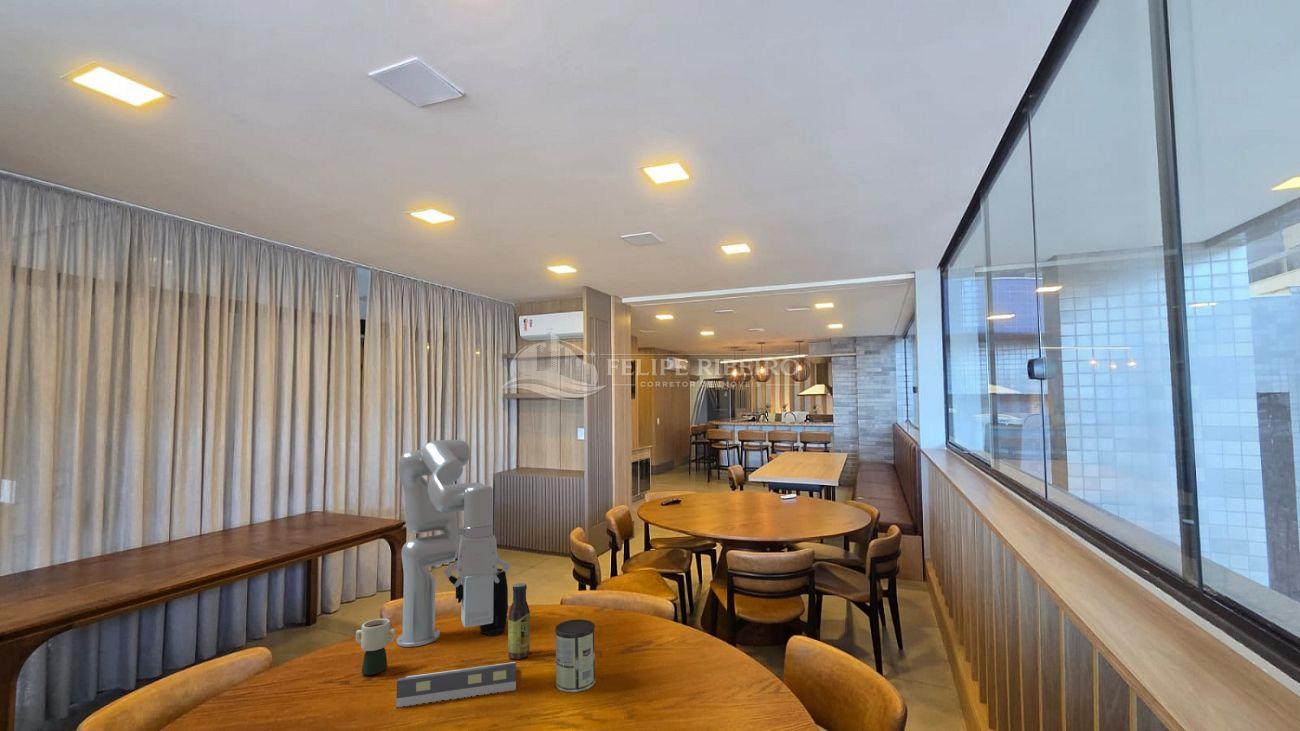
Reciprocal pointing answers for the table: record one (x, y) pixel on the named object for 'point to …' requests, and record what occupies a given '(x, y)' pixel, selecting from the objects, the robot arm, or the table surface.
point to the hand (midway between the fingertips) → (477, 599)
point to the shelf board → (455, 692)
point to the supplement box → (477, 600)
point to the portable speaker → (498, 610)
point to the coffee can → (575, 655)
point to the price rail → (455, 680)
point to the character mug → (375, 644)
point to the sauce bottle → (519, 624)
